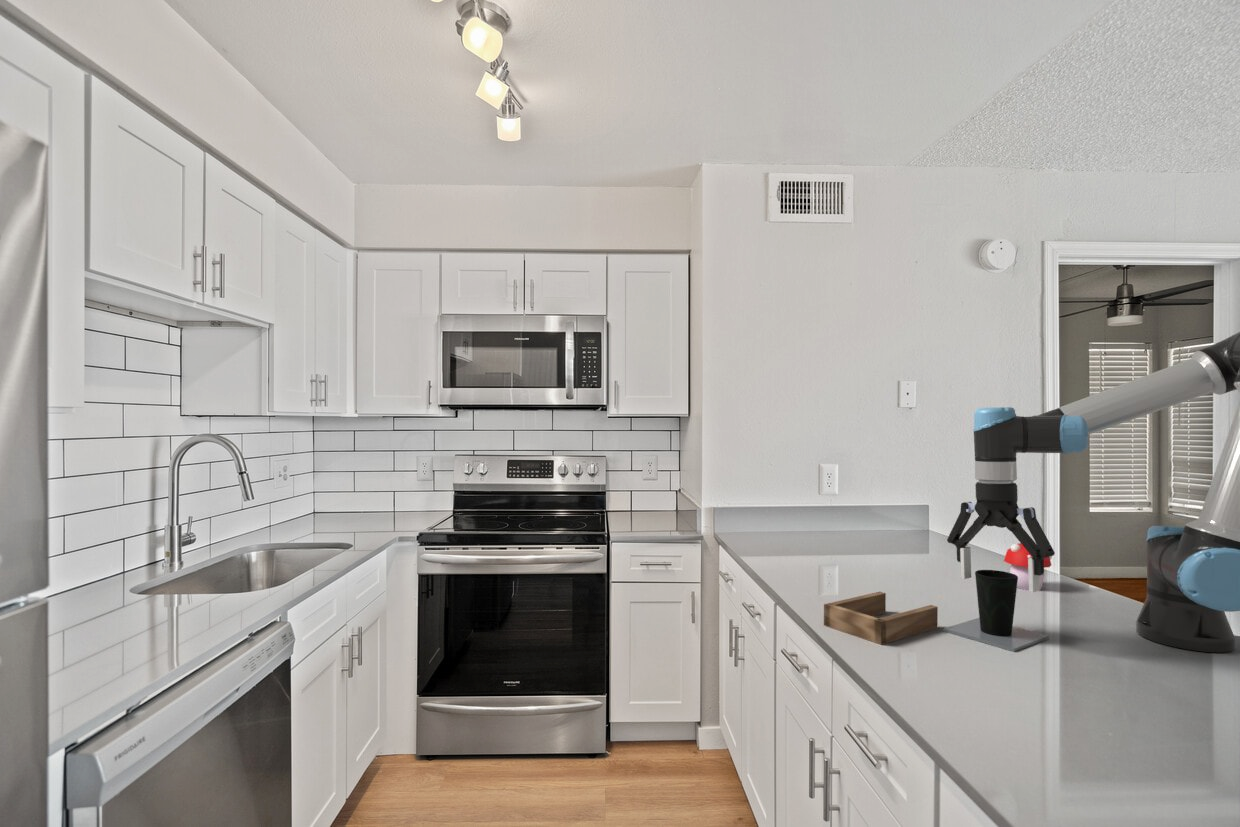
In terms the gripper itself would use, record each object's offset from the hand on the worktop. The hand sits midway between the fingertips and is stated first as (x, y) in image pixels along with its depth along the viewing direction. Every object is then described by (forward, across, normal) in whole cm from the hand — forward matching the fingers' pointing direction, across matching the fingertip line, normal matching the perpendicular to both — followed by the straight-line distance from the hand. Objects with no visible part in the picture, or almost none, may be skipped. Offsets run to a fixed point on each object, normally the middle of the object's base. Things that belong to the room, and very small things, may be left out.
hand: (998, 584), depth 133 cm
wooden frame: (+10, +17, +16) cm, 25 cm away
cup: (+10, +1, 0) cm, 10 cm away
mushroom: (+11, +16, -46) cm, 50 cm away
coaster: (+10, +1, 0) cm, 11 cm away
